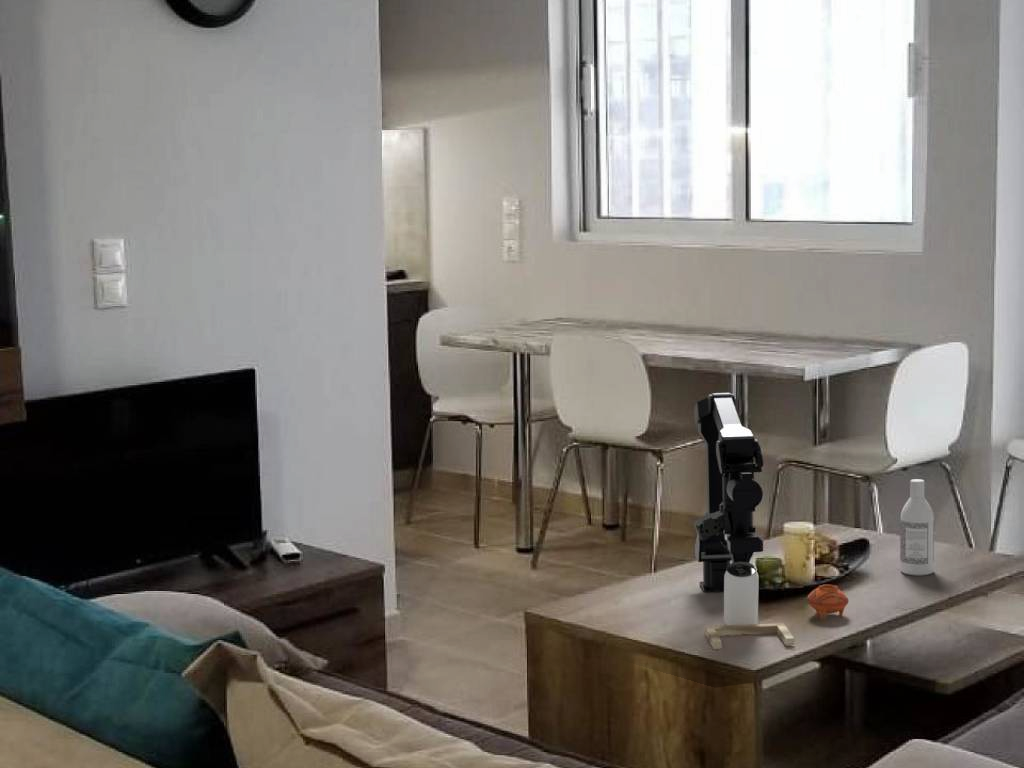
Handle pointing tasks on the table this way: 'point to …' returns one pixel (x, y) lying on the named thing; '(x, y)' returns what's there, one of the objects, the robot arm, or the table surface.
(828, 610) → the pot
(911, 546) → the bath foam
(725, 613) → the can
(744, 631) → the cradle
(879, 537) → the table surface
